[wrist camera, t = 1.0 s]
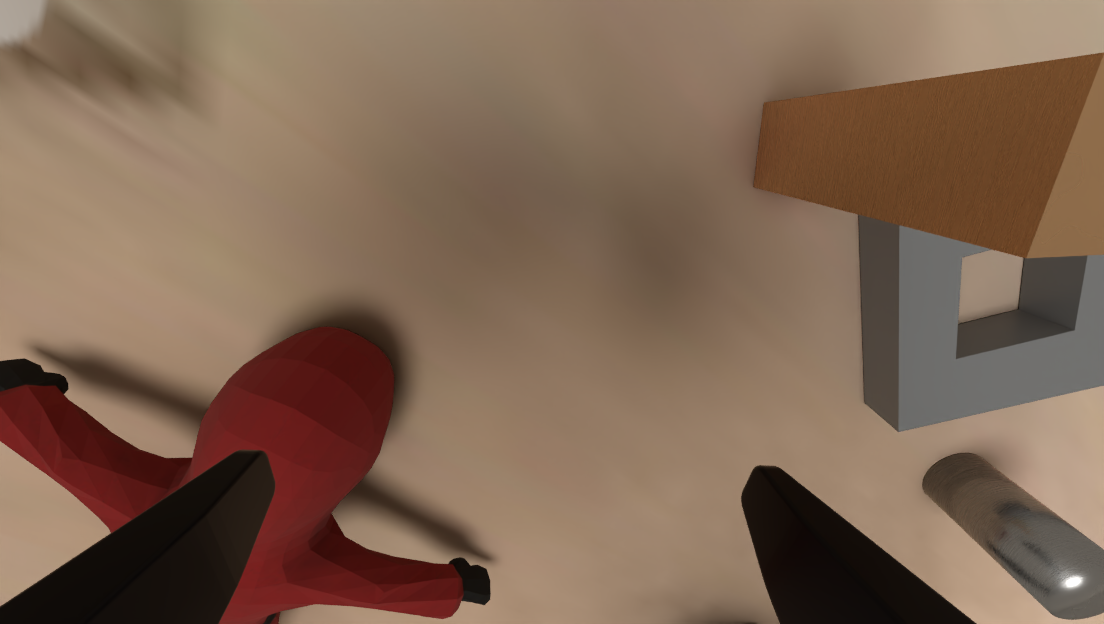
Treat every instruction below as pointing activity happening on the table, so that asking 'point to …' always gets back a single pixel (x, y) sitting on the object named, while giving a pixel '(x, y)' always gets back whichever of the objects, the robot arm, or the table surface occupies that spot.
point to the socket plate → (970, 330)
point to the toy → (296, 461)
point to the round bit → (1021, 535)
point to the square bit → (955, 155)
